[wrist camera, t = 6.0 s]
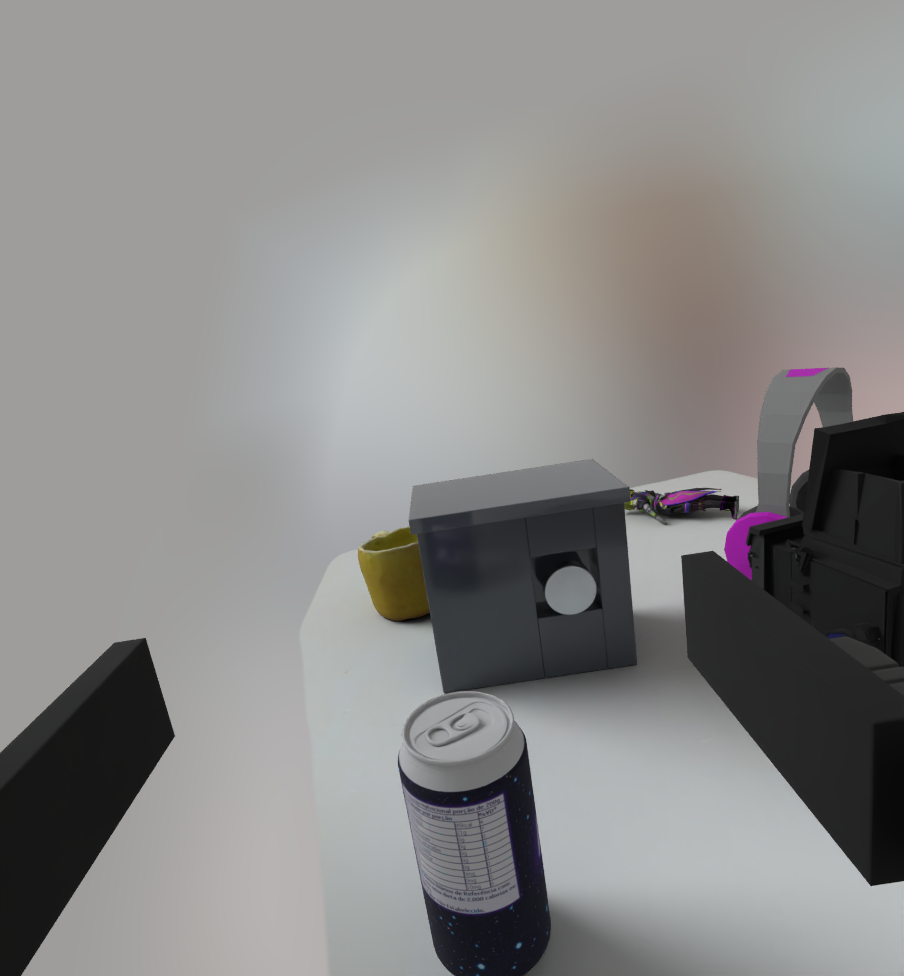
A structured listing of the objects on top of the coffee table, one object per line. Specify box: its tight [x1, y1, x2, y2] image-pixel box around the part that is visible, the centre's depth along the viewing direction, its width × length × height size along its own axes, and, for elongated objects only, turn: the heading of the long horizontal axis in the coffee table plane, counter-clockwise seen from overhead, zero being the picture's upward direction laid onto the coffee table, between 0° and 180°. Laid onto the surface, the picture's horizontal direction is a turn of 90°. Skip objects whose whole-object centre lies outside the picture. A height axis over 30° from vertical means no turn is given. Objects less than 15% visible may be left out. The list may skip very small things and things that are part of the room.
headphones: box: [724, 368, 853, 580], centre depth 61 cm, size 21×9×20 cm, turn 132°
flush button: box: [542, 560, 597, 615], centre depth 47 cm, size 4×1×4 cm, turn 92°
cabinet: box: [409, 459, 637, 693], centre depth 53 cm, size 17×11×15 cm, turn 92°
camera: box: [746, 412, 904, 667], centre depth 39 cm, size 10×14×20 cm
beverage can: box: [398, 691, 551, 976], centre depth 28 cm, size 6×6×12 cm
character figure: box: [624, 488, 739, 525], centre depth 83 cm, size 9×4×16 cm
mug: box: [358, 526, 430, 621], centre depth 68 cm, size 12×10×10 cm
